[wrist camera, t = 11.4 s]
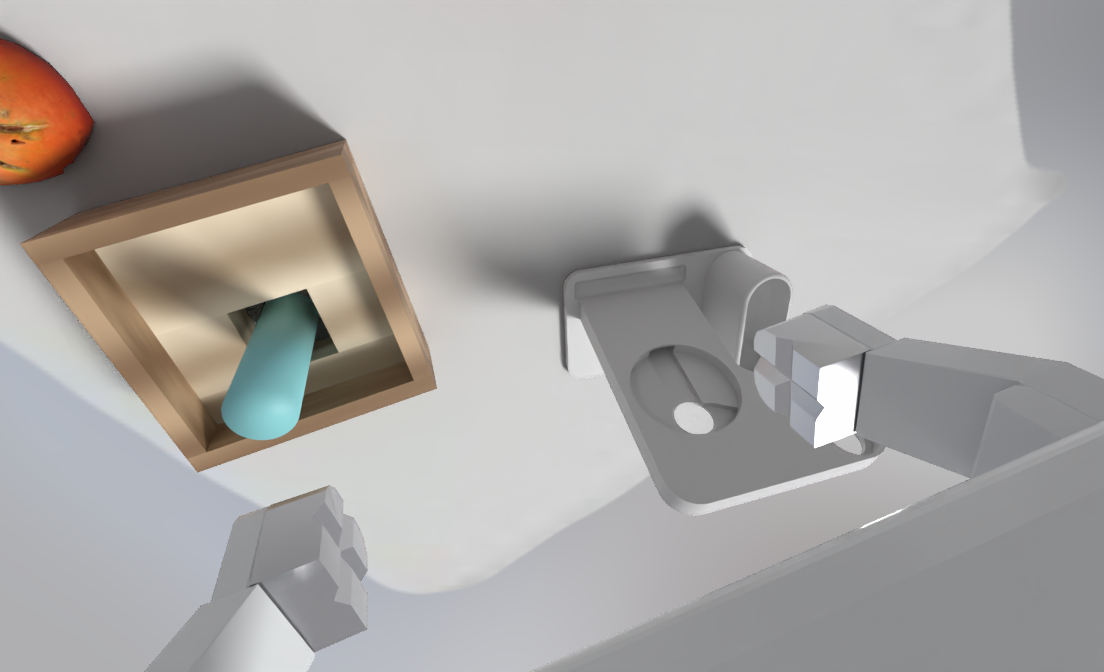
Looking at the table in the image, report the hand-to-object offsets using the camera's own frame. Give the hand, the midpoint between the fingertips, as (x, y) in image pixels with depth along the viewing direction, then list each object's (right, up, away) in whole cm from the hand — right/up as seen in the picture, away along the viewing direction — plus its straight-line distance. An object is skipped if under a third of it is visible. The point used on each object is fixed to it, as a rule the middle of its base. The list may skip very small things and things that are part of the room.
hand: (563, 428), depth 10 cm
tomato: (-30, +14, +19) cm, 38 cm away
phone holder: (+9, +4, +37) cm, 38 cm away
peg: (-19, +3, +28) cm, 34 cm away
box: (-19, +5, +27) cm, 33 cm away
